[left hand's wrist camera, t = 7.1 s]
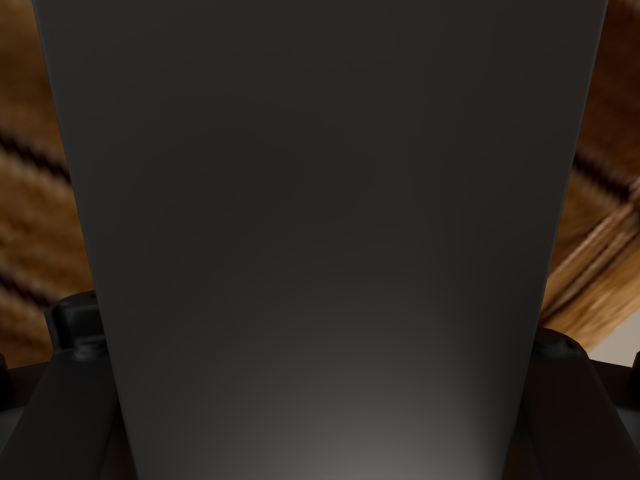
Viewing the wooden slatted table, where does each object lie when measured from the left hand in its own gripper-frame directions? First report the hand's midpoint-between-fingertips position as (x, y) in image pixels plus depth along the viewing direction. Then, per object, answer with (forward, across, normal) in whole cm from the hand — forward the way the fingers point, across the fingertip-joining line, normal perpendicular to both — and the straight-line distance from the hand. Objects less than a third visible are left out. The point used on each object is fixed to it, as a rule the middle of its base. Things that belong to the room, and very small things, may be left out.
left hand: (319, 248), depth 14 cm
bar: (+1, 0, -9) cm, 9 cm away
